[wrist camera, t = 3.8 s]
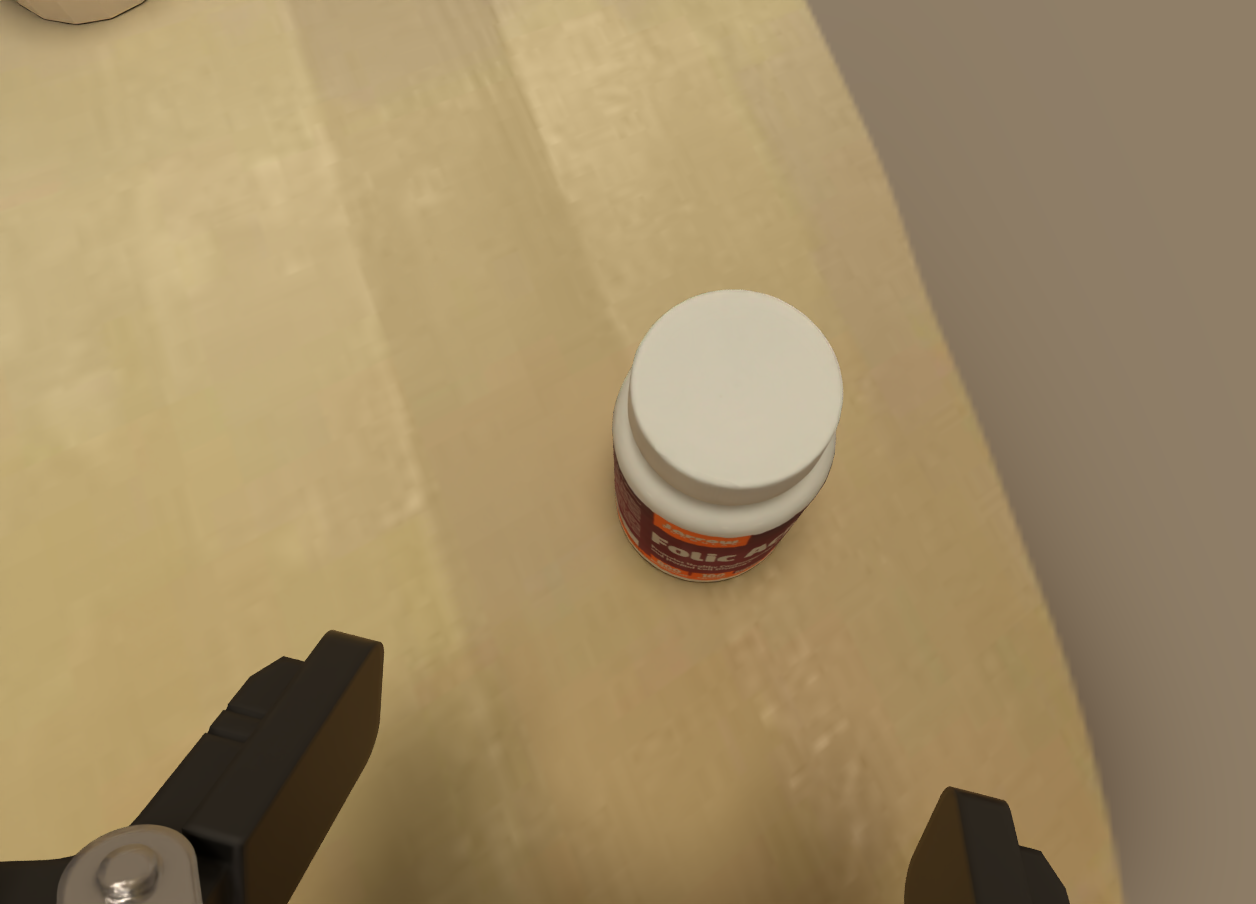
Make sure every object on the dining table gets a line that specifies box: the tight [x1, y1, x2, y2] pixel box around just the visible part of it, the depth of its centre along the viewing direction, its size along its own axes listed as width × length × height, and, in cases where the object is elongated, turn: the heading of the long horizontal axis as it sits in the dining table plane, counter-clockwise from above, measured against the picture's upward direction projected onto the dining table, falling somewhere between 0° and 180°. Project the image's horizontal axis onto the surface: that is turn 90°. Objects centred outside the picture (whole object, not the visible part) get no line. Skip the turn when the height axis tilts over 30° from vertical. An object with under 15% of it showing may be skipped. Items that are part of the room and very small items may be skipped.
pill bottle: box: [612, 289, 843, 582], centre depth 21 cm, size 5×5×8 cm
